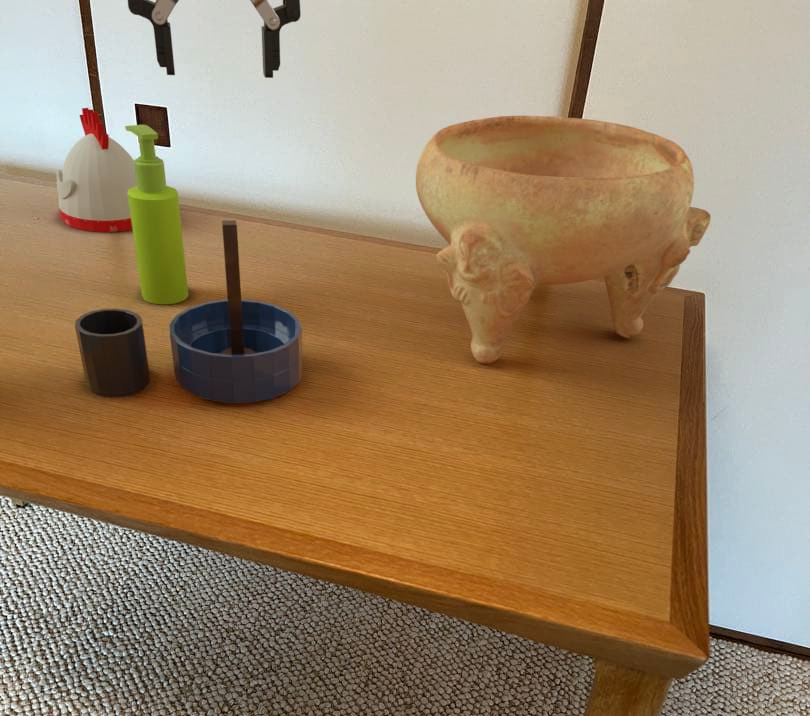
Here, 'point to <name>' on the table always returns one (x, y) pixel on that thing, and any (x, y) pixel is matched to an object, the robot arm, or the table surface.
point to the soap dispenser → (156, 226)
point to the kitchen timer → (96, 181)
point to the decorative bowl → (555, 215)
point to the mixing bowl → (236, 374)
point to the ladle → (233, 289)
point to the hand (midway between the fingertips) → (219, 74)
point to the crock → (113, 352)
